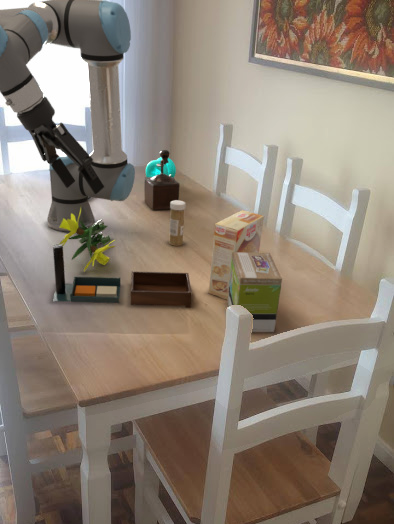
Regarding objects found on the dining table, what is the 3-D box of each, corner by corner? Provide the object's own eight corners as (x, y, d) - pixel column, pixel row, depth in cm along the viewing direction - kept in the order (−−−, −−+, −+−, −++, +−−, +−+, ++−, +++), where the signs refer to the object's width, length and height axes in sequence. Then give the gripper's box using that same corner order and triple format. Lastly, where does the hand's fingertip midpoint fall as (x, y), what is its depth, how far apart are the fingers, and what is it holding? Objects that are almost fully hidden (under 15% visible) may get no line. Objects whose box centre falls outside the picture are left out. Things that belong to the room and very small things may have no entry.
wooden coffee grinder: (180, 208, 211) (183, 159, 201) (152, 210, 207) (153, 159, 197) (166, 196, 223) (168, 148, 213) (139, 197, 219) (140, 149, 209)
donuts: (176, 182, 239) (177, 158, 234) (165, 188, 231) (166, 163, 226) (155, 178, 242) (156, 154, 237) (144, 183, 235) (144, 159, 229)
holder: (131, 285, 154) (131, 271, 152) (187, 286, 156) (188, 272, 154) (130, 306, 144) (130, 291, 142) (190, 307, 146) (191, 292, 143)
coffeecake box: (230, 301, 150) (238, 230, 140) (207, 293, 153) (213, 223, 143) (256, 282, 161) (265, 215, 151) (234, 275, 164) (241, 209, 154)
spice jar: (185, 245, 181) (188, 203, 174) (173, 247, 179) (175, 205, 172) (178, 240, 184) (180, 199, 177) (165, 242, 182) (167, 200, 175)
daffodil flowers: (134, 244, 181) (121, 258, 148) (95, 266, 183) (73, 285, 150) (107, 195, 177) (87, 199, 143) (66, 218, 179) (37, 227, 145)
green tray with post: (57, 285, 151) (54, 238, 144) (120, 286, 153) (120, 240, 146) (52, 302, 143) (48, 253, 136) (119, 303, 145) (118, 256, 138)
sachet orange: (76, 288, 149) (76, 285, 149) (95, 289, 150) (95, 285, 149) (74, 296, 145) (74, 292, 145) (94, 296, 146) (94, 293, 145)
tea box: (225, 303, 149) (231, 250, 141) (263, 304, 150) (271, 251, 142) (233, 333, 136) (240, 276, 128) (275, 333, 137) (284, 277, 129)
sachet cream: (97, 289, 150) (97, 285, 149) (116, 289, 150) (116, 286, 150) (96, 296, 146) (96, 293, 146) (116, 297, 147) (116, 293, 146)
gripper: (-6, 114, 129) (49, 191, 143) (43, 116, 111) (100, 203, 125) (18, 95, 131) (70, 172, 145) (71, 93, 113) (124, 182, 127)
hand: (84, 187), depth 135 cm, fingers open, 13 cm apart
